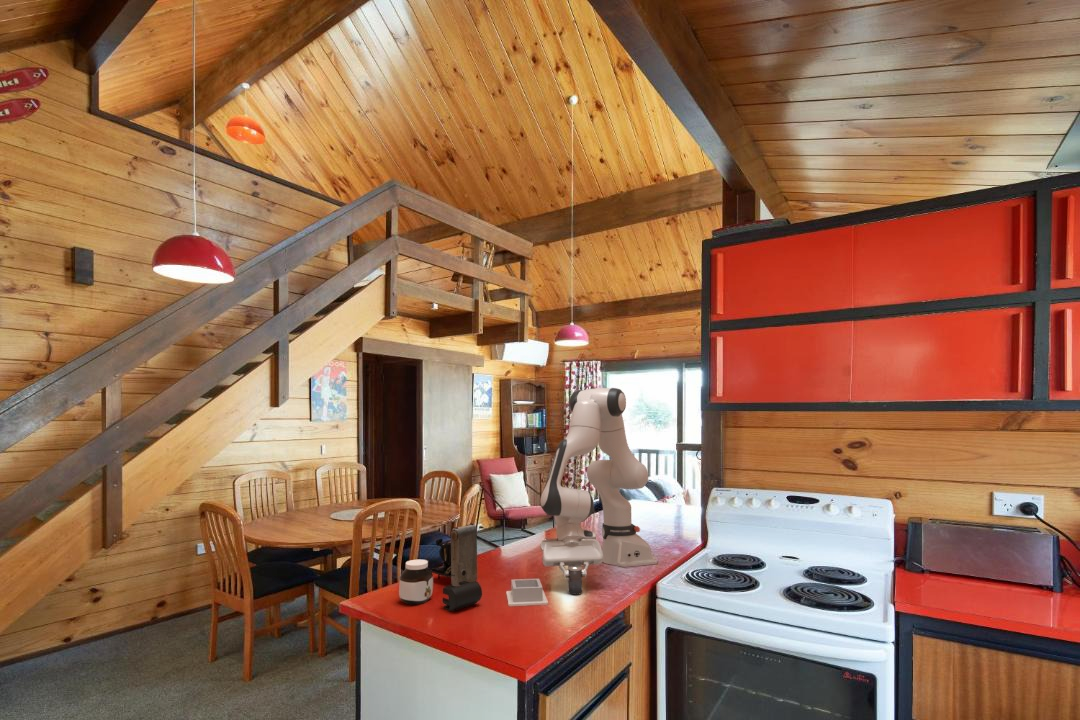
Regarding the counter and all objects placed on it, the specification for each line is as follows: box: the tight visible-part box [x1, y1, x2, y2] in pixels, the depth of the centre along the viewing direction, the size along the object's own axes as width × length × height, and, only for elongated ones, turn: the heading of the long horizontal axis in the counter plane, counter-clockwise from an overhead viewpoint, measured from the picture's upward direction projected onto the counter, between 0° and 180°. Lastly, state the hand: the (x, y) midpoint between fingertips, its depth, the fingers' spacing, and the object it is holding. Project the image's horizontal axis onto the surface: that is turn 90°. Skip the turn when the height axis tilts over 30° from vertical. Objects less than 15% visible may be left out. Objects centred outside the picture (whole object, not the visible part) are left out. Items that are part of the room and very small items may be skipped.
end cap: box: [442, 580, 483, 612], centre depth 162 cm, size 10×7×7 cm
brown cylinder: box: [567, 565, 583, 595], centre depth 175 cm, size 4×4×8 cm
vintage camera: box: [430, 522, 478, 586], centre depth 186 cm, size 10×15×20 cm, turn 54°
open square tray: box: [505, 578, 549, 607], centre depth 169 cm, size 12×12×5 cm
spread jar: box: [398, 559, 434, 606], centre depth 169 cm, size 12×11×12 cm
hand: (575, 576), depth 174 cm, fingers closed on brown cylinder, 4 cm apart
